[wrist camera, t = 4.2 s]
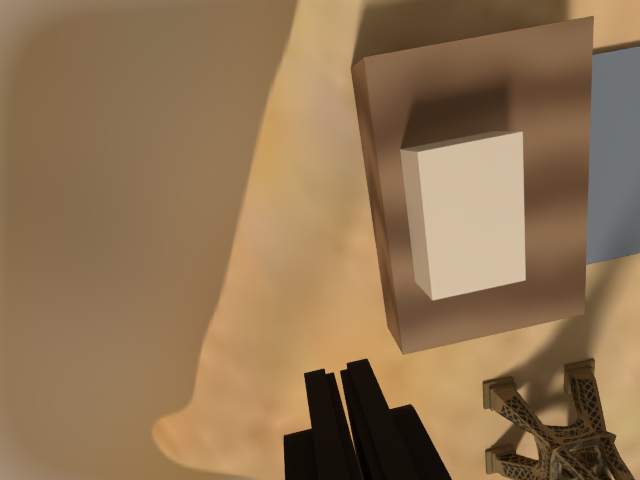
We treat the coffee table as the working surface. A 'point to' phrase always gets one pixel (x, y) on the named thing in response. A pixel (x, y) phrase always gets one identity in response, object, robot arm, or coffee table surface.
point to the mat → (614, 156)
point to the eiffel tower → (557, 434)
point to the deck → (471, 119)
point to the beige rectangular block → (466, 212)
